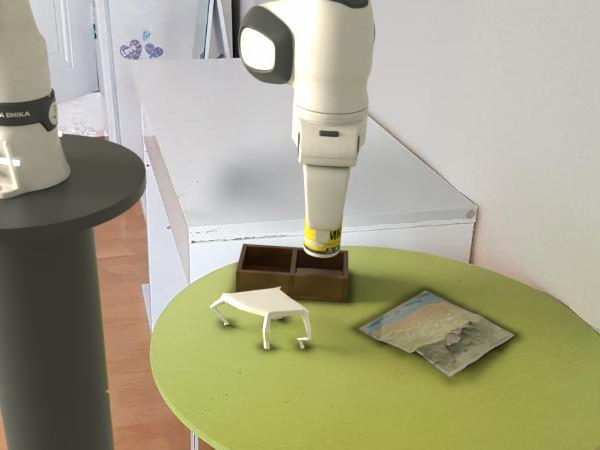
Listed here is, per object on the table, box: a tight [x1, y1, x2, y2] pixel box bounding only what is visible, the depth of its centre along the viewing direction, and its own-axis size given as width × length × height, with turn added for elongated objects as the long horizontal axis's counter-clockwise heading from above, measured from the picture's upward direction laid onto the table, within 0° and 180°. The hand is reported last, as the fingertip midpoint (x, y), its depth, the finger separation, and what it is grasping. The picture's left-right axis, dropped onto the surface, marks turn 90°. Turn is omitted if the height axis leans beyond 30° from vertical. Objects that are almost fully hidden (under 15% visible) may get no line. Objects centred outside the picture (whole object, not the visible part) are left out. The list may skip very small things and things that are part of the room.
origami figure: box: [210, 287, 313, 350], centre depth 88 cm, size 12×8×5 cm
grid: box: [235, 243, 349, 303], centre depth 98 cm, size 14×7×4 cm, turn 87°
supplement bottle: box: [303, 213, 344, 258], centre depth 95 cm, size 5×5×8 cm
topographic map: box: [358, 290, 515, 378], centre depth 90 cm, size 14×14×2 cm
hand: (322, 228), depth 95 cm, fingers closed on supplement bottle, 5 cm apart
